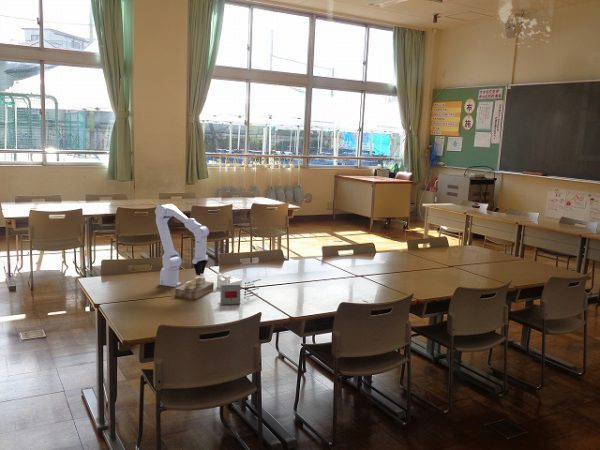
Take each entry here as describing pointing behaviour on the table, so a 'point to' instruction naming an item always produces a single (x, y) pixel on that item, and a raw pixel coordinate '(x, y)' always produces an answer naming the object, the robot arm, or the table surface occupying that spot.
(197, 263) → the robot arm
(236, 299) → the voltmeter
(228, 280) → the bracket
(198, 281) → the peg
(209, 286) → the band block
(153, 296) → the table surface
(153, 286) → the table surface
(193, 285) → the peg
